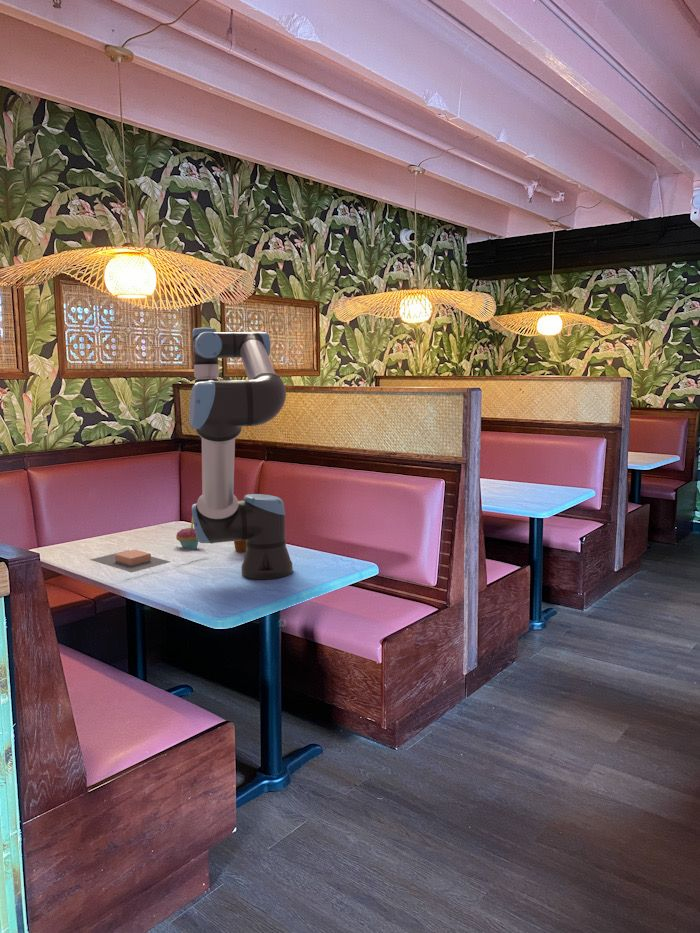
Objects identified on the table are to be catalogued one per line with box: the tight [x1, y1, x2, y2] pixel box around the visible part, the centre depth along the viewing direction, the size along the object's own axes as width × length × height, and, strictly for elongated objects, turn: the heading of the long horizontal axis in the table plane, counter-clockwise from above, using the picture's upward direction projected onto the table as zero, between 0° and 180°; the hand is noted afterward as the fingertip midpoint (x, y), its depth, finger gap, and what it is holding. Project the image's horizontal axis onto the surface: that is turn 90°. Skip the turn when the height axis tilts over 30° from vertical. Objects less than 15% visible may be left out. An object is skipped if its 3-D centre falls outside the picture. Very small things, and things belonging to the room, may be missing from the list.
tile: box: [114, 549, 152, 566], centre depth 217 cm, size 2×7×9 cm
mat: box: [89, 550, 171, 573], centre depth 218 cm, size 24×14×1 cm, turn 50°
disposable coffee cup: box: [233, 540, 246, 553], centre depth 231 cm, size 10×10×12 cm
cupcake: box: [175, 516, 200, 551], centre depth 235 cm, size 9×8×12 cm
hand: (210, 453), depth 217 cm, fingers closed
